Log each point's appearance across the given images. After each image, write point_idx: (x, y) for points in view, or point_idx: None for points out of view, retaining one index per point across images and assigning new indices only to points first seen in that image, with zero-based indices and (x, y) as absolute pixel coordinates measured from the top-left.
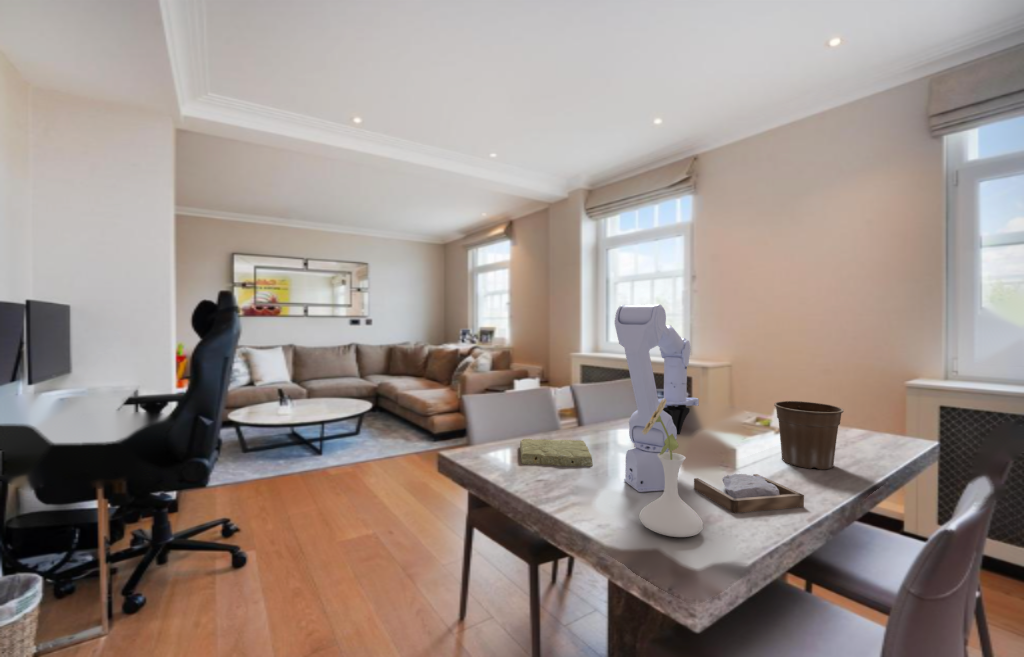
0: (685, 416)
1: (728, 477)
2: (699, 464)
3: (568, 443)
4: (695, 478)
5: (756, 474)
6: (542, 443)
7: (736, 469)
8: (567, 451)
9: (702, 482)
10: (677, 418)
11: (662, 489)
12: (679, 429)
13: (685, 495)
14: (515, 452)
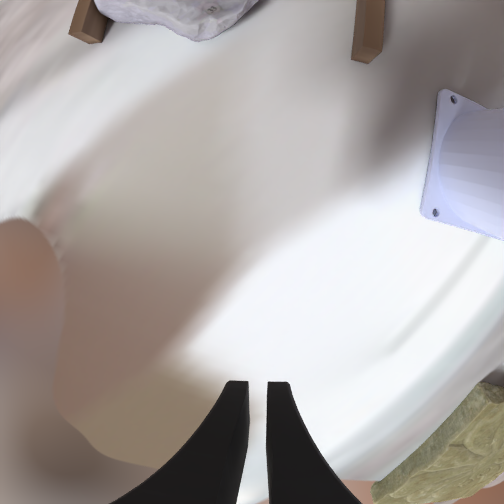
0: (150, 490)
1: (211, 8)
2: (121, 294)
3: (436, 484)
4: (377, 47)
5: (73, 29)
6: (481, 475)
7: (38, 200)
8: (496, 434)
9: (380, 6)
10: (288, 491)
11: (484, 108)
12: (240, 404)
13: (434, 43)
14: None
